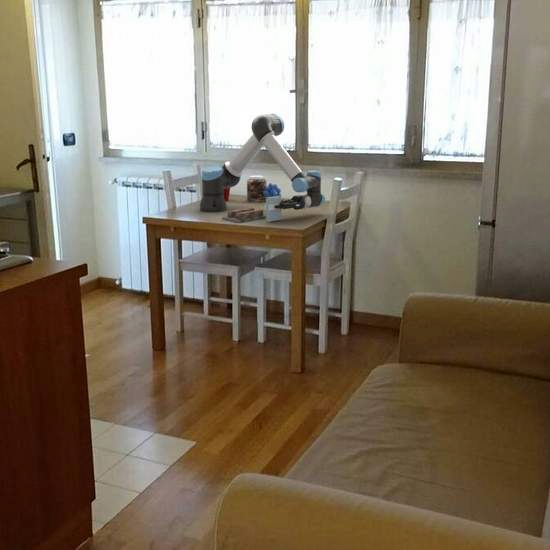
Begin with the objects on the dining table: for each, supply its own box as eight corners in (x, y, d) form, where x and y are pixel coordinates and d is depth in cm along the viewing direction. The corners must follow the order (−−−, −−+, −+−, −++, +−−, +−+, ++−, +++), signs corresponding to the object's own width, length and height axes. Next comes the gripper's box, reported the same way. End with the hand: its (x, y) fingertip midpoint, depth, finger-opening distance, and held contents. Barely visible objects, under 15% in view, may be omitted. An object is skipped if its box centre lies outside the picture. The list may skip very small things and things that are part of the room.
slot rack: (238, 222, 363) (238, 214, 362) (222, 219, 373) (222, 211, 372) (268, 217, 376) (268, 210, 375) (251, 214, 386) (251, 206, 385)
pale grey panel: (269, 221, 363) (269, 198, 360) (266, 221, 365) (266, 197, 362) (281, 219, 368) (281, 196, 365) (277, 219, 370) (277, 196, 367)
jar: (249, 199, 436) (249, 174, 432) (268, 199, 434) (268, 175, 430) (245, 202, 425) (244, 177, 421) (264, 203, 423) (263, 177, 419)
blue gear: (267, 205, 415) (267, 184, 412) (262, 203, 421) (261, 183, 418) (284, 203, 421) (284, 183, 418) (279, 201, 426) (278, 181, 423)
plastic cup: (230, 202, 426) (229, 182, 423) (212, 201, 428) (212, 181, 425) (234, 199, 436) (234, 179, 433) (217, 199, 438) (217, 179, 435)
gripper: (310, 211, 372) (277, 216, 357) (290, 207, 383) (257, 212, 368) (310, 196, 370) (277, 201, 355) (290, 193, 381) (257, 198, 366)
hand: (267, 207), depth 362 cm, fingers closed on pale grey panel, 2 cm apart
